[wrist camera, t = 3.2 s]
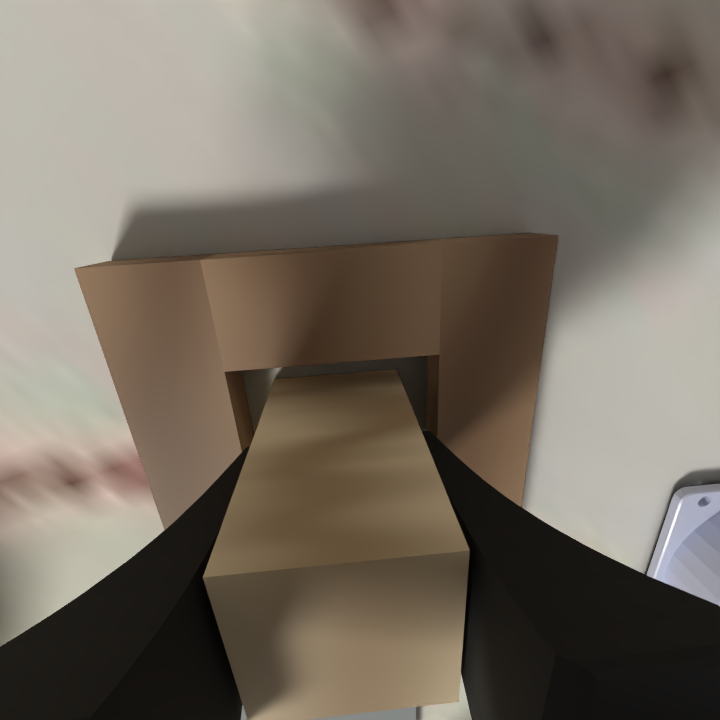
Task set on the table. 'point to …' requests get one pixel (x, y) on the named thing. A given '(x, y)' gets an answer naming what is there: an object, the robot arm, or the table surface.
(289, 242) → the table surface
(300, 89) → the table surface
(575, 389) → the table surface
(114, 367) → the brown wooden square frame
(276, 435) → the beech block
